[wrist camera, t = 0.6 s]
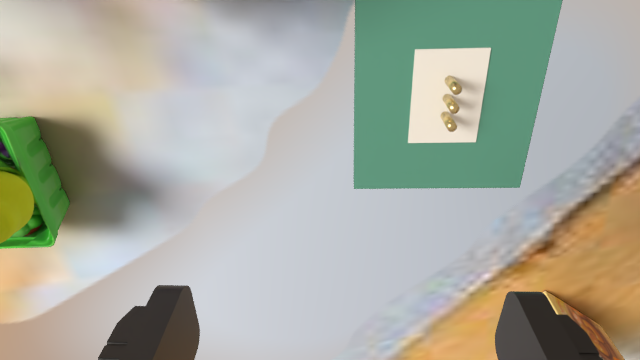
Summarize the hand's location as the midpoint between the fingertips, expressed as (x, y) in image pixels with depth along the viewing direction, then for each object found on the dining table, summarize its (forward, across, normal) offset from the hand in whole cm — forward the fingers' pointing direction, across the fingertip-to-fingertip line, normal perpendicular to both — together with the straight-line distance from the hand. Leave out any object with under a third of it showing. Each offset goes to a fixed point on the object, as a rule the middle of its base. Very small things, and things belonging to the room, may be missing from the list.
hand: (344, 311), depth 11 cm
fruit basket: (+26, +28, +10) cm, 39 cm away
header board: (+25, -8, +3) cm, 27 cm away
